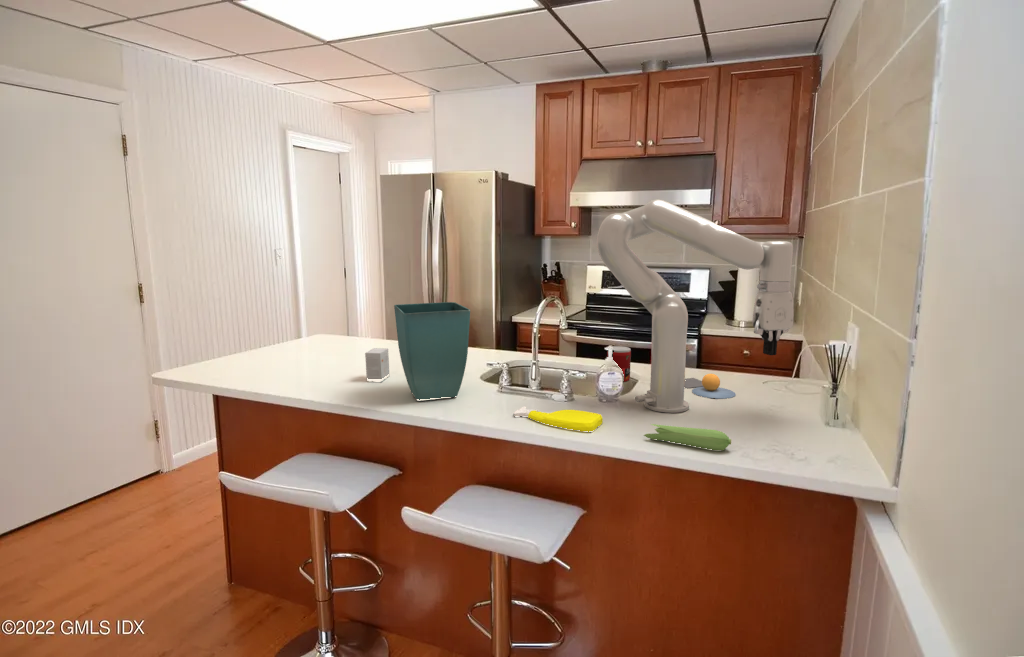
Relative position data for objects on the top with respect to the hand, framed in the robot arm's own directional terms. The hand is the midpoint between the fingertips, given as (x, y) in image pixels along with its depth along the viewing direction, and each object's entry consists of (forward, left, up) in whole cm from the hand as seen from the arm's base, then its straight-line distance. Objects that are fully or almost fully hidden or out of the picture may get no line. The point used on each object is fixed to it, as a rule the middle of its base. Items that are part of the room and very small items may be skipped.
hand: (769, 354), depth 151 cm
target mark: (0, +22, -17) cm, 28 cm away
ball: (+1, +25, -14) cm, 28 cm away
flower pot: (-84, +50, -17) cm, 99 cm away
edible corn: (-34, -12, -18) cm, 40 cm away
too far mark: (0, +34, -17) cm, 38 cm away
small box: (-99, +76, -17) cm, 126 cm away
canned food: (-20, +47, -17) cm, 54 cm away
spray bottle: (-57, +15, -18) cm, 62 cm away
